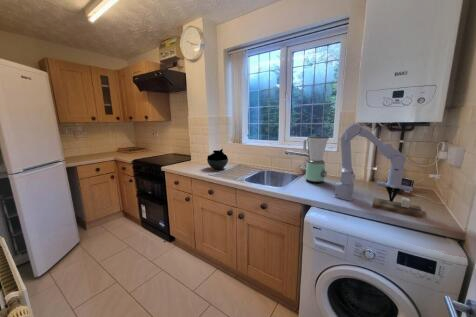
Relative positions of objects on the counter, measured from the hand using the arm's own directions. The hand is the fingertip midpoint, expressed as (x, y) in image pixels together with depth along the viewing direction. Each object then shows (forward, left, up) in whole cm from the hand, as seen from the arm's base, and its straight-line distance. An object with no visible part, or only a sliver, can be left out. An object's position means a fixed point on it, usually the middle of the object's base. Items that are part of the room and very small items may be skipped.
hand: (391, 201), depth 106 cm
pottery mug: (+1, +31, -4) cm, 31 cm away
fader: (+6, 0, -1) cm, 6 cm away
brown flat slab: (+2, 0, -4) cm, 4 cm away
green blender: (-47, +22, -4) cm, 52 cm away
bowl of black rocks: (-133, +6, -4) cm, 133 cm away
